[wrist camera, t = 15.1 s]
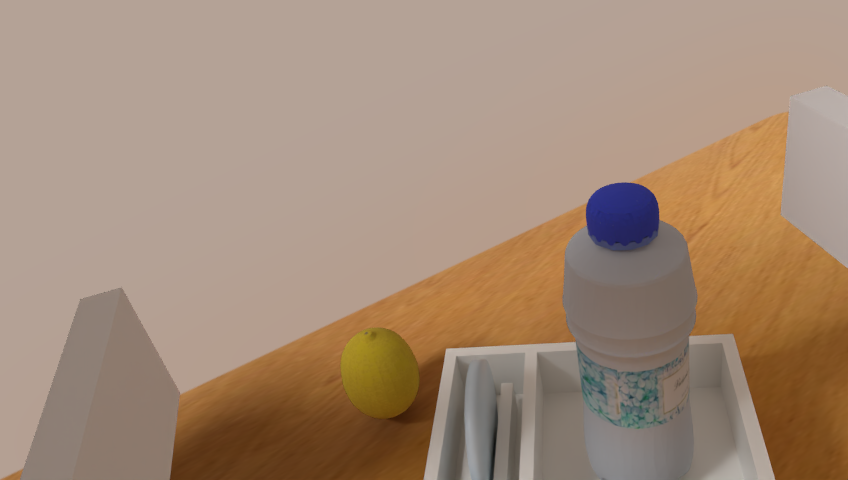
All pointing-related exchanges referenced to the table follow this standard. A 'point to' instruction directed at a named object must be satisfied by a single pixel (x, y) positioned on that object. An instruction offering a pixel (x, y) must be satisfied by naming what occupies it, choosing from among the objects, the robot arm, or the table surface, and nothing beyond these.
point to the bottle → (632, 335)
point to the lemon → (379, 373)
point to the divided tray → (577, 415)
